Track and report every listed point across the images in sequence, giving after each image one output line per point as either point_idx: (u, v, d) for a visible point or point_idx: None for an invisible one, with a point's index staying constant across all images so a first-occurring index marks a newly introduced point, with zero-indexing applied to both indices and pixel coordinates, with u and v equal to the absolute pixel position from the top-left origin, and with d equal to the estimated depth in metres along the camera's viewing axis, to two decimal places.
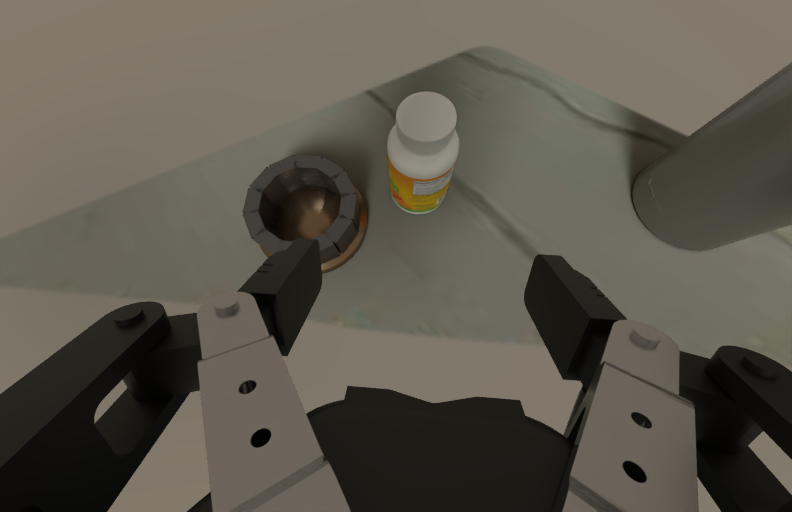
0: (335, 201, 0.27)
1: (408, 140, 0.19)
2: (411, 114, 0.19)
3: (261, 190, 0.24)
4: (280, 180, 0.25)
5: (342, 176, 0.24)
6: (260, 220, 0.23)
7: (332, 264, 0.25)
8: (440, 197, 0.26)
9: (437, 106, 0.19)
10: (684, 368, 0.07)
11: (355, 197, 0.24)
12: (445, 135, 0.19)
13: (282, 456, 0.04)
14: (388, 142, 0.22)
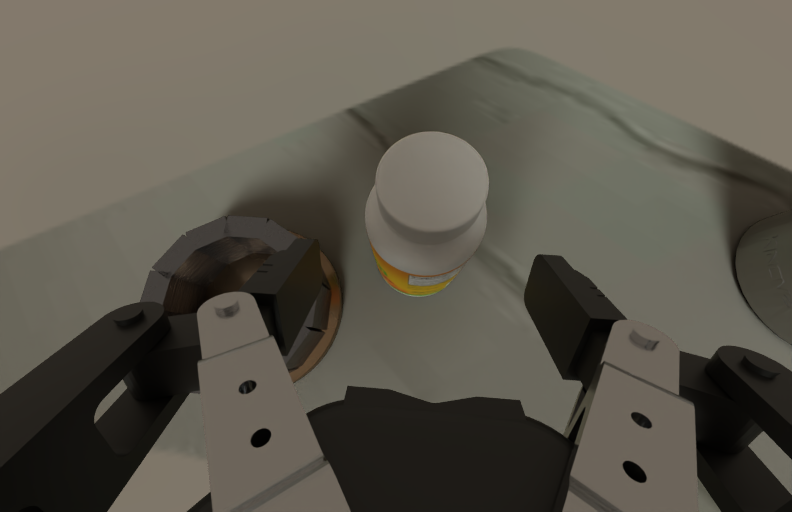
0: None
1: (398, 225, 0.10)
2: (404, 175, 0.10)
3: (170, 275, 0.15)
4: (205, 254, 0.16)
5: None
6: None
7: None
8: (451, 280, 0.17)
9: (452, 160, 0.10)
10: (684, 368, 0.07)
11: None
12: (468, 220, 0.10)
13: (282, 457, 0.04)
14: (366, 211, 0.13)
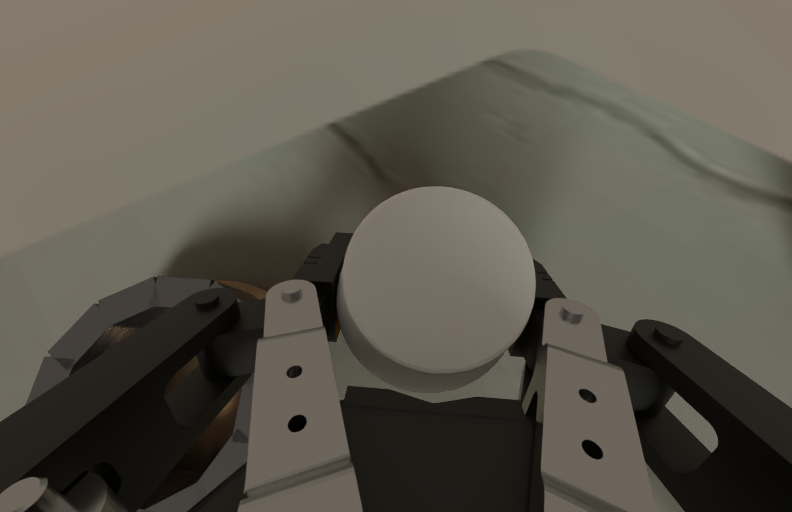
0: None
1: (381, 354, 0.06)
2: (390, 266, 0.06)
3: (71, 363, 0.11)
4: (128, 327, 0.12)
5: None
6: None
7: None
8: None
9: (473, 239, 0.06)
10: (607, 340, 0.07)
11: None
12: (502, 352, 0.06)
13: (313, 446, 0.04)
14: (338, 294, 0.09)
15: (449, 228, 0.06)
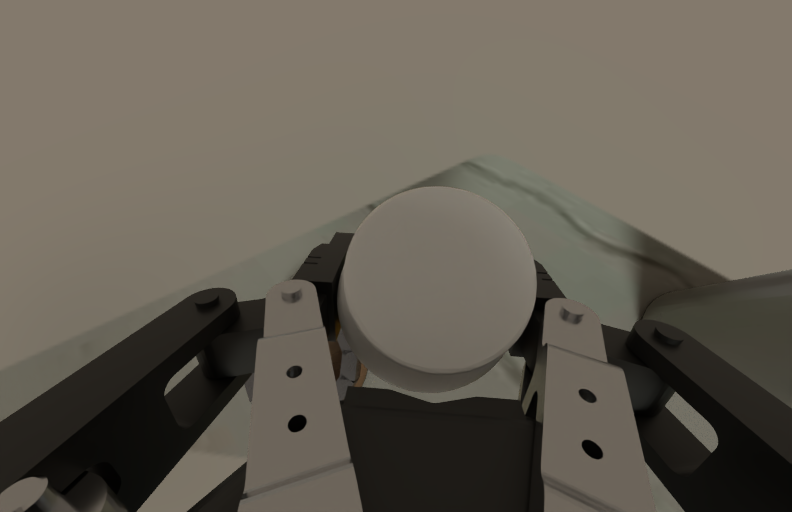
0: None
1: (382, 354, 0.06)
2: (391, 266, 0.06)
3: None
4: None
5: None
6: None
7: None
8: None
9: (474, 239, 0.06)
10: (607, 340, 0.07)
11: None
12: (503, 352, 0.06)
13: (312, 447, 0.04)
14: (338, 294, 0.09)
15: (450, 228, 0.06)
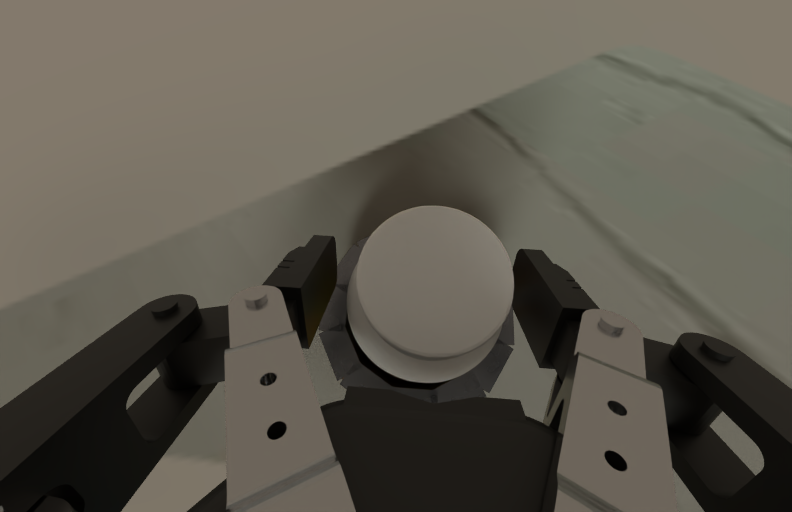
0: None
1: (388, 343, 0.07)
2: (395, 271, 0.07)
3: (347, 288, 0.14)
4: None
5: None
6: (350, 346, 0.13)
7: None
8: None
9: (462, 249, 0.08)
10: (649, 354, 0.07)
11: None
12: (487, 340, 0.07)
13: (296, 451, 0.04)
14: (348, 297, 0.10)
15: (443, 240, 0.08)
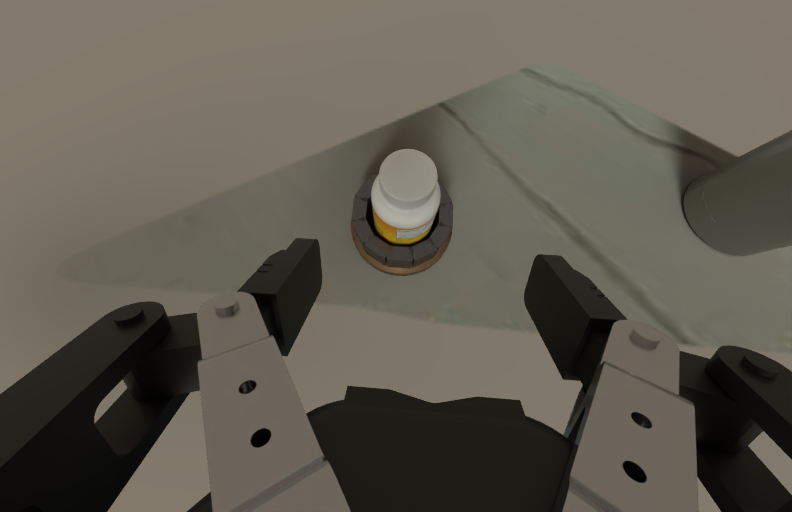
0: None
1: (391, 198, 0.20)
2: (393, 172, 0.20)
3: (366, 199, 0.27)
4: None
5: None
6: (368, 227, 0.26)
7: (425, 266, 0.28)
8: (423, 237, 0.27)
9: (419, 164, 0.20)
10: (684, 368, 0.07)
11: (452, 207, 0.27)
12: (426, 195, 0.20)
13: (283, 456, 0.04)
14: (372, 192, 0.22)
15: (412, 161, 0.20)
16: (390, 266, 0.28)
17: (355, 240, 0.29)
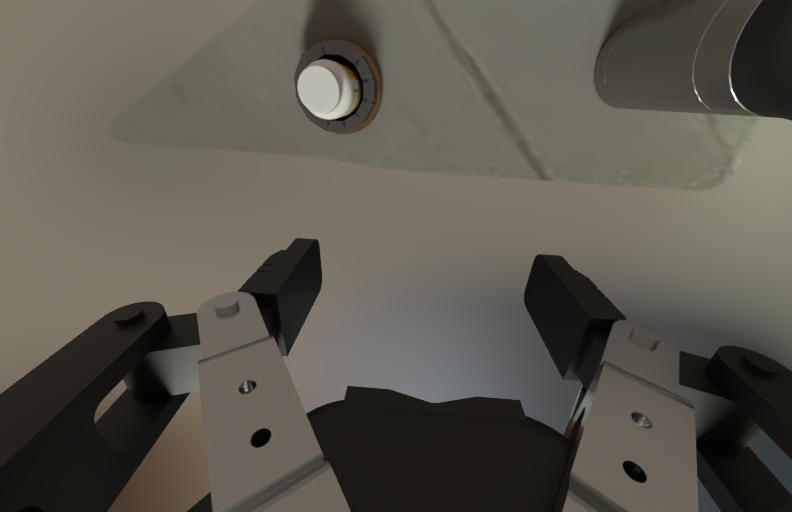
0: (356, 73, 0.35)
1: (310, 109, 0.29)
2: (307, 89, 0.28)
3: None
4: None
5: (361, 62, 0.32)
6: None
7: (361, 127, 0.38)
8: (353, 110, 0.35)
9: (324, 81, 0.27)
10: (684, 368, 0.07)
11: (373, 82, 0.33)
12: (332, 108, 0.28)
13: (282, 457, 0.04)
14: None
15: (319, 78, 0.27)
16: None
17: None
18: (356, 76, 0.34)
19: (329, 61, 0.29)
